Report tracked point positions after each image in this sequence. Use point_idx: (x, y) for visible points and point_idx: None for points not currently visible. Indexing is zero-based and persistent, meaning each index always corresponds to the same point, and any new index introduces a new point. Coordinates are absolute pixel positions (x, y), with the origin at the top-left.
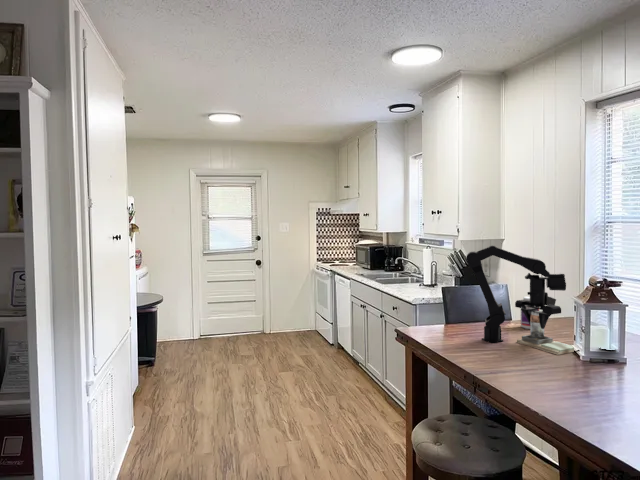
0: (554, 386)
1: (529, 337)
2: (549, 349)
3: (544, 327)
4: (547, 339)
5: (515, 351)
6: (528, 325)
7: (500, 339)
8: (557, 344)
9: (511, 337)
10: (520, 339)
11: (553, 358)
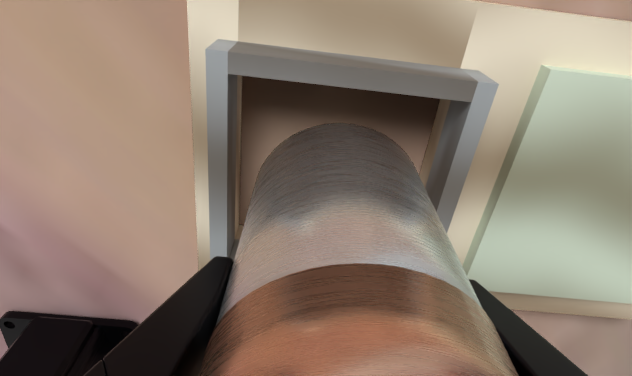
0: None
1: (231, 182)
2: (558, 308)
3: (487, 294)
4: (465, 173)
5: None
6: None
7: (106, 333)
8: (591, 179)
9: (22, 169)
10: (200, 247)
11: (619, 373)
